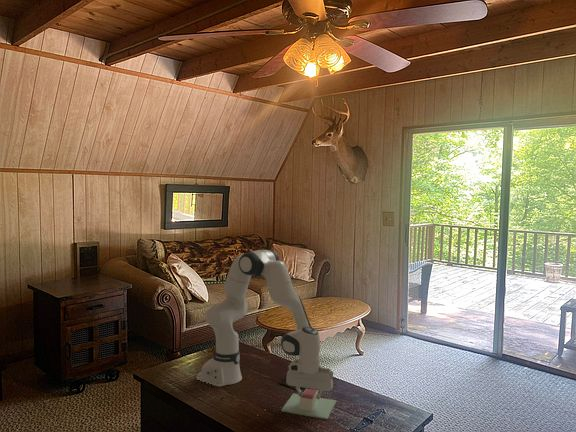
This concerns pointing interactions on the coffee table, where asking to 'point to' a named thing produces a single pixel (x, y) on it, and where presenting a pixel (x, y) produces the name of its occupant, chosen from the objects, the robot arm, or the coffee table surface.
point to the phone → (291, 386)
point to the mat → (319, 411)
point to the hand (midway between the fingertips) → (309, 397)
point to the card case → (308, 399)
